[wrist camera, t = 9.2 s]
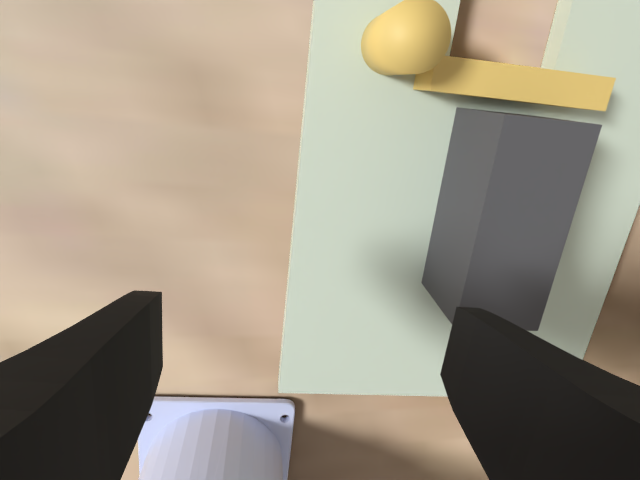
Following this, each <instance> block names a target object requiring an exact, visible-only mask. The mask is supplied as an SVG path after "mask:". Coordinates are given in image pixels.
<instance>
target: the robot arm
mask: <svg viewBox="0 0 640 480" xmlns="http://www.w3.org/2000/svg"><path fill="white" fill-rule="evenodd" d="M162 367H163V354H162V292H152V291H132V292H130V293H128V294H126V295H124V296H123V297H121V298H119V299H117V300H116V301H114V302H112V303H111V304H109V305H107V306H105V307H104V308H102V309H100V310H99V311H97V312H95V313H94V314H92V315H90V316H88V317H87V318H85V319H83V320H82V321H80V322H78V323H76V324H75V325H73V326H71V327H69V328H68V329H66V330H64V331H62V332H60V333H58V334H56V335H54V336H52V337H50V338H49V339H47V340H45V341H43V342H41V343H39V344H37V345H35V346H33V347H31V348H30V349H28V350H26V351H24V352H22V353H19V354H17V355H15V356H13V357H11V358H9V359H7V360H4V361H2V362H0V480H120V479H121V477H122V475H123V472H124V470H125V468H126V465H127V463H128V461H129V458H130V456H131V454H132V451H133V449H134V447H135V444H136V442H137V440H138V448H139V474H140V476H139V479H138V480H287V479H288V470H289V461H290V452H291V443H292V434H293V425H294V416H295V404H294V403H293V401H291V400H289V399H259V398H207V397H155V393H156V390H157V386H158V382H159V379H160V375H161V371H162ZM440 375H441V378H442V381H443V384H444V387H445V390H446V393H447V396H448V399H449V401H450V404H451V406H452V409H453V411H454V413H455V415H456V417H457V419H458V421H459V423H460V425H461V427H462V429H463V431H464V433H465V435H466V437H467V439H468V440H469V442H470V444H471V446H472V448H473V450H474V452H475V454H476V455H477V457H478V459H479V461H480V463H481V465H482V467H483V469H484V470H485V472H486V474H487V476H488V478H489V480H640V386H639V385H636V384H634V383H631V382H629V381H627V380H624V379H622V378H620V377H618V376H615V375H613V374H611V373H609V372H607V371H604V370H602V369H600V368H598V367H596V366H594V365H592V364H590V363H588V362H586V361H584V360H582V359H580V358H578V357H576V356H574V355H572V354H570V353H568V352H566V351H564V350H562V349H560V348H558V347H556V346H555V345H553V344H551V343H549V342H547V341H545V340H543V339H541V338H540V337H538V336H536V335H534V334H532V333H530V332H528V331H526V330H525V329H523V328H521V327H519V326H517V325H515V324H513V323H511V322H510V321H508V320H506V319H504V318H502V317H500V316H498V315H495V314H493V313H491V312H489V311H486V310H484V309H481V308H472V307H456V311H455V315H454V319H453V323H452V327H451V332H450V336H449V340H448V344H447V348H446V352H445V356H444V361H443V365H442V369H441V373H440ZM149 413H150V414H151V416H148V414H149ZM283 415H288V417H281V416H283Z"/></svg>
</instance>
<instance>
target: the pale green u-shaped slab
mask: <svg viewBox="0 0 640 480" xmlns="http://www.w3.org/2000/svg"><path fill="white" fill-rule="evenodd" d="M459 5H460V0H313V9H312V20H311V31H310V42H309V52H308V63H307V74H306V85H305V96H304V106H303V117H302V128H301V139H300V150H299V161H298V171H297V182H296V193H295V204H294V215H293V225H292V236H291V247H290V258H289V269H288V280H287V290H286V301H285V312H284V323H283V334H282V344H281V355H280V366H279V377H278V393H308V394H356V395H403V396H447V393H446V390H445V387H444V384H443V381H442V378H441V375H440V373H441V369H442V365H443V361H444V356H445V352H446V348H447V344H448V340H449V336H450V332H451V327H452V324H451V323H450V321H449V320H448V319H447V317H446V316H445V314H444V313H443V312H442V310H441V309H440V308H439V306H438V305H437V304H436V302H435V301H434V299H433V298H432V297H431V295H430V294H429V293H428V291H427V290H426V289H425V287H424V286H423V284H422V283H421V282H422V277H423V272H424V267H425V262H426V257H427V252H428V247H429V242H430V237H431V232H432V227H433V222H434V217H435V212H436V207H437V202H438V197H439V192H440V187H441V182H442V177H443V173H444V168H445V163H446V158H447V153H448V148H449V143H450V138H451V133H452V128H453V123H454V118H455V113H456V108H457V107H459V108H468V109H477V110H487V111H496V112H505V113H514V114H524V115H533V116H541V117H548V118H556V119H563V120H570V121H578V122H585V123H593V124H600V125H602V127H601V131H600V134H599V137H598V140H597V143H596V147H595V150H594V153H593V156H592V159H591V163H590V166H589V169H588V172H587V175H586V179H585V182H584V185H583V188H582V191H581V195H580V198H579V201H578V204H577V207H576V211H575V214H574V217H573V220H572V224H571V227H570V230H569V233H568V236H567V240H566V243H565V246H564V249H563V252H562V256H561V259H560V262H559V265H558V268H557V272H556V275H555V278H554V281H553V284H552V288H551V291H550V294H549V297H548V300H547V304H546V307H545V310H544V313H543V316H542V320H541V323H540V326H539V329H538V331H528V332H530V333H532V334H534V335H536V336H538V337H540V338H541V339H543V340H545V341H547V342H549V343H551V344H553V345H555V346H556V347H558V348H560V349H562V350H564V351H566V352H568V353H570V354H572V355H574V356H576V357H578V358H580V359H582V360H583V357H584V355H585V352H586V349H587V346H588V344H589V341H590V338H591V336H592V333H593V330H594V327H595V325H596V322H597V319H598V317H599V314H600V311H601V308H602V306H603V303H604V300H605V297H606V295H607V292H608V289H609V287H610V284H611V281H612V278H613V276H614V273H615V270H616V268H617V265H618V262H619V259H620V257H621V254H622V251H623V248H624V246H625V243H626V240H627V238H628V235H629V232H630V229H631V227H632V224H633V221H634V218H635V216H636V213H637V210H638V208H639V205H640V0H558V3H557V7H556V11H555V15H554V19H553V22H552V26H551V30H550V34H549V38H548V42H547V45H546V49H545V53H544V57H543V61H542V65H541V68H537V67H529V66H521V65H514V64H506V63H498V62H491V61H483V60H475V59H468V58H460V57H452V56H450V52H451V47H452V41H453V36H454V31H455V26H456V21H457V16H458V10H459Z"/></svg>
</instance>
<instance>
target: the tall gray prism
mask: <svg viewBox="0 0 640 480" xmlns="http://www.w3.org/2000/svg"><path fill="white" fill-rule="evenodd" d="M601 127H602V125H600V124H593V123H585V122H578V121H570V120H563V119H556V118H548V117H541V116H533V115H524V114H514V113H505V112H496V111H487V110H477V109H468V108H459V107H457V108H456V113H455V118H454V123H453V128H452V133H451V138H450V143H449V148H448V153H447V158H446V163H445V168H444V173H443V177H442V182H441V187H440V192H439V197H438V202H437V207H436V212H435V217H434V222H433V227H432V232H431V237H430V242H429V247H428V252H427V257H426V262H425V267H424V272H423V277H422V282H421V283H422V284H423V286H424V287H425V289H426V290H427V291H428V293H429V294H430V295H431V297H432V298H433V299H434V301H435V302H436V304H437V305H438V306H439V308H440V309H441V310H442V312H443V313H444V314H445V316H446V317H447V319H448V320H449V321H450V323H451V324H452V323H453V319H454V315H455V311H456V307H472V308H481V309H484V310H486V311H489V312H491V313H493V314H495V315H498V316H500V317H502V318H504V319H506V320H508V321H510V322H511V323H513V324H515V325H517V326H519V327H521V328H523V329H525V330H526V331H538V329H539V326H540V323H541V320H542V316H543V313H544V310H545V307H546V304H547V300H548V297H549V294H550V291H551V288H552V284H553V281H554V278H555V275H556V272H557V268H558V265H559V262H560V259H561V256H562V252H563V249H564V246H565V243H566V240H567V236H568V233H569V230H570V227H571V224H572V220H573V217H574V214H575V211H576V207H577V204H578V201H579V198H580V195H581V191H582V188H583V185H584V182H585V179H586V175H587V172H588V169H589V166H590V163H591V159H592V156H593V153H594V150H595V147H596V143H597V140H598V137H599V134H600V131H601Z"/></svg>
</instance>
